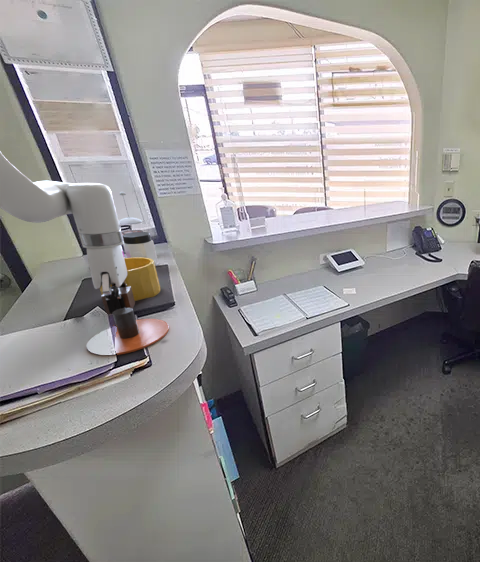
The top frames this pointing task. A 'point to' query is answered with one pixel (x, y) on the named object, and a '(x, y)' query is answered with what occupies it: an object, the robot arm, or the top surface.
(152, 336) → the lid
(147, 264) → the tin
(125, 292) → the block
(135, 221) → the french press
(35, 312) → the top surface
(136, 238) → the jar
